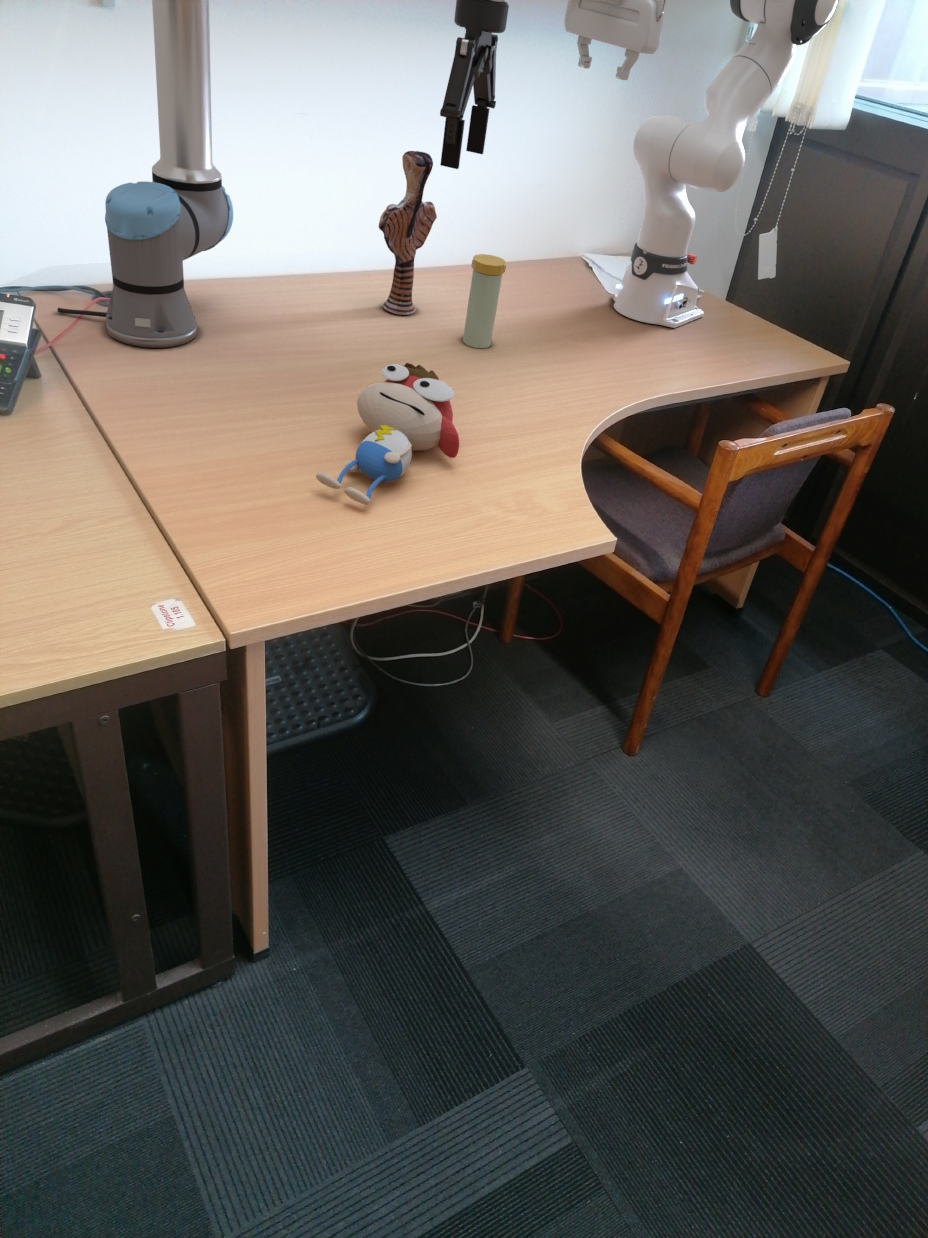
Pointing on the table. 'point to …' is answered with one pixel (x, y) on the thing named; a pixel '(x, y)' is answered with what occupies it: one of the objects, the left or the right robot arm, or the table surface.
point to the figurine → (407, 230)
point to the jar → (481, 309)
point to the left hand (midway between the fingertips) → (462, 159)
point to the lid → (488, 264)
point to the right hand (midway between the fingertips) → (602, 73)
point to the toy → (399, 425)
